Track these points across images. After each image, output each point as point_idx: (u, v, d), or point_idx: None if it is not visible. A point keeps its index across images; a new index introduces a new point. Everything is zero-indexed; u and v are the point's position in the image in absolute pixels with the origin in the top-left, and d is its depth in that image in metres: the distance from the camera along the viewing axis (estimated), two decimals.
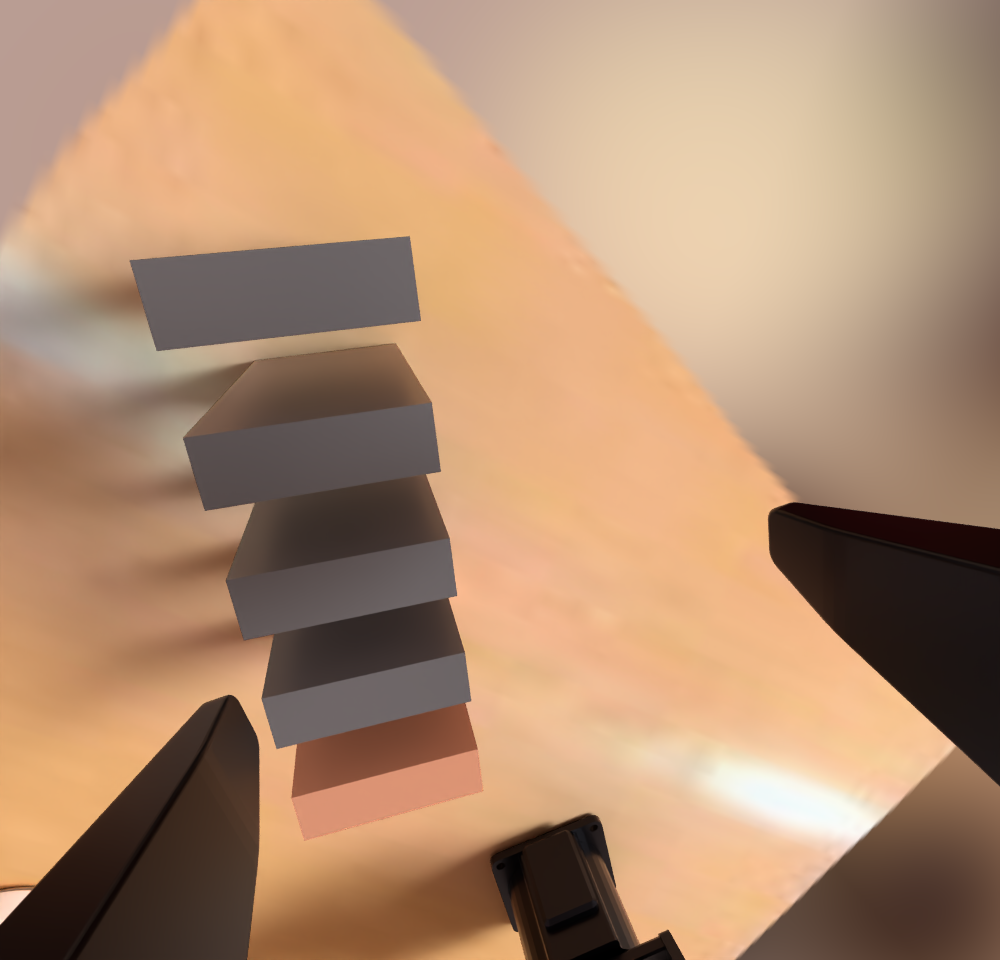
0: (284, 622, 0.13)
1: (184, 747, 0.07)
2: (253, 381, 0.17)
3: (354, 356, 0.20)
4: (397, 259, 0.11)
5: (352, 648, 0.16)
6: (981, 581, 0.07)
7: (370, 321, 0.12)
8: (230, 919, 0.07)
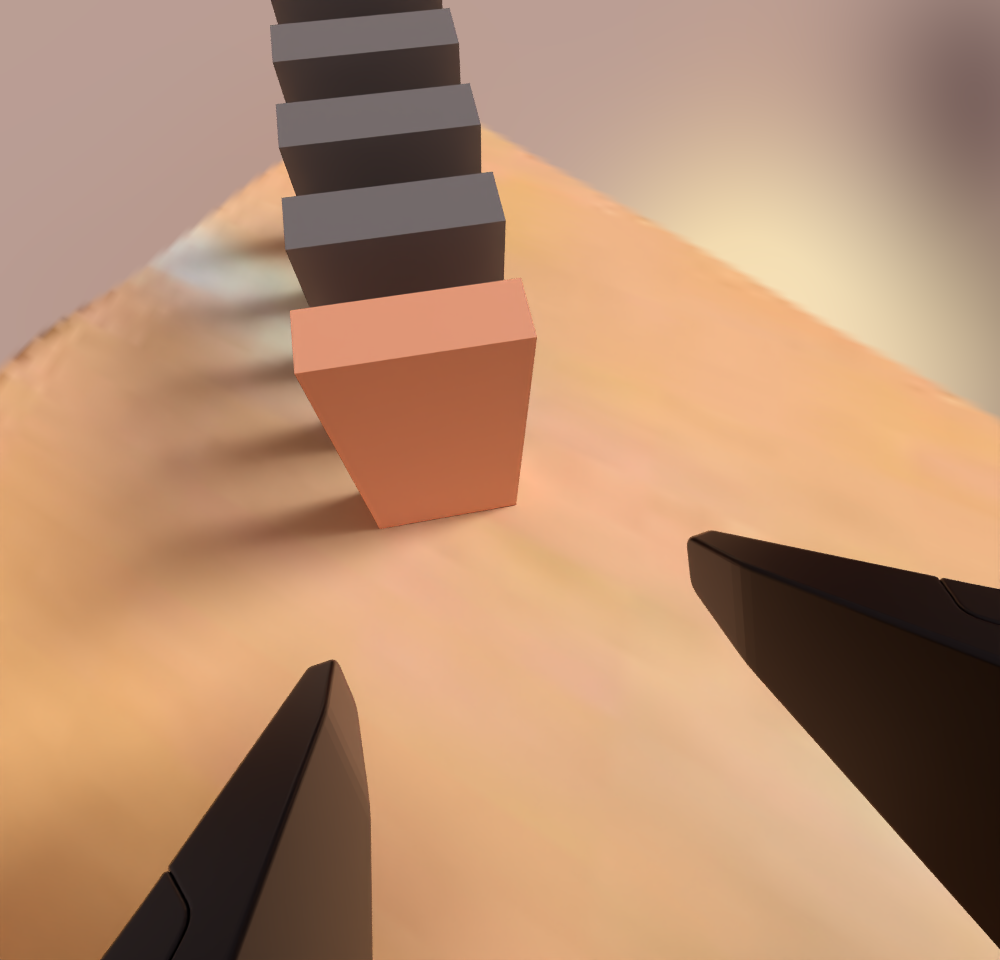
0: (317, 136, 0.14)
1: (305, 705, 0.07)
2: None
3: None
4: None
5: None
6: (866, 625, 0.06)
7: None
8: (358, 869, 0.07)
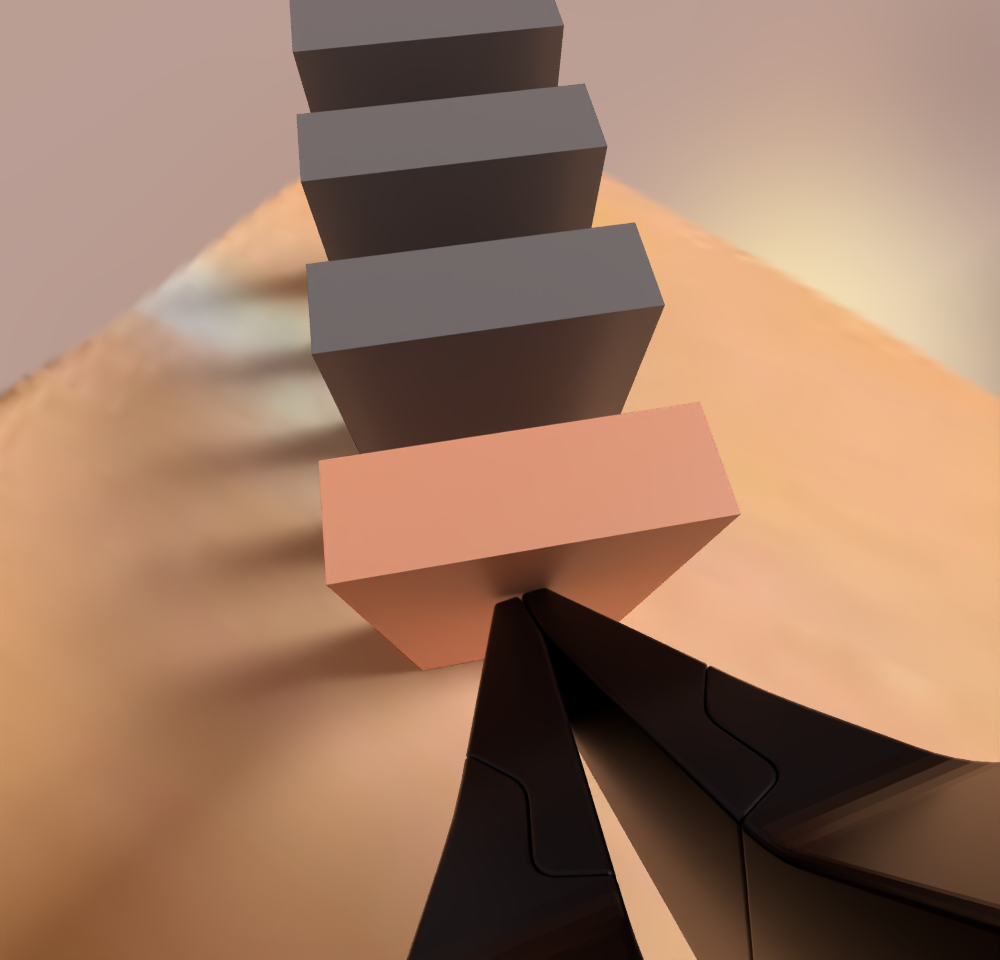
0: (359, 163, 0.09)
1: (517, 630, 0.08)
2: None
3: None
4: None
5: None
6: (622, 718, 0.06)
7: None
8: None
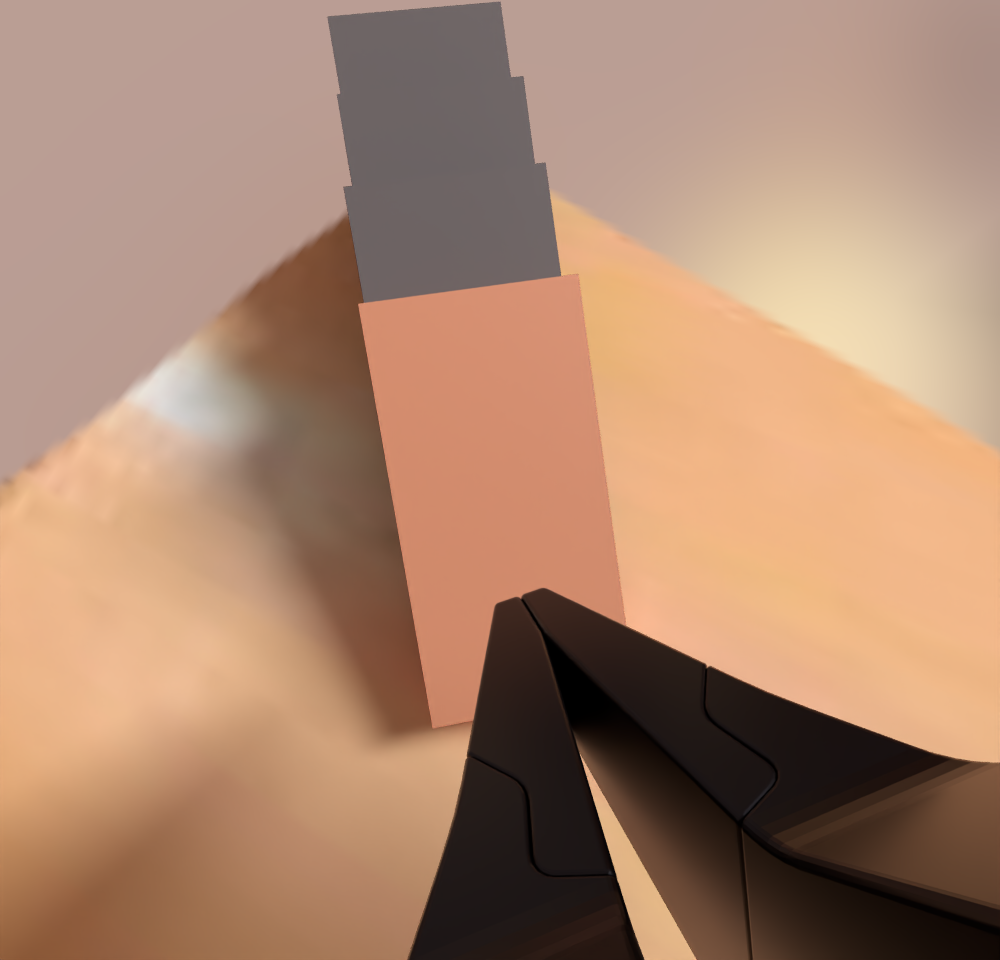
0: None
1: (517, 630, 0.08)
2: None
3: None
4: None
5: None
6: (622, 719, 0.06)
7: None
8: None
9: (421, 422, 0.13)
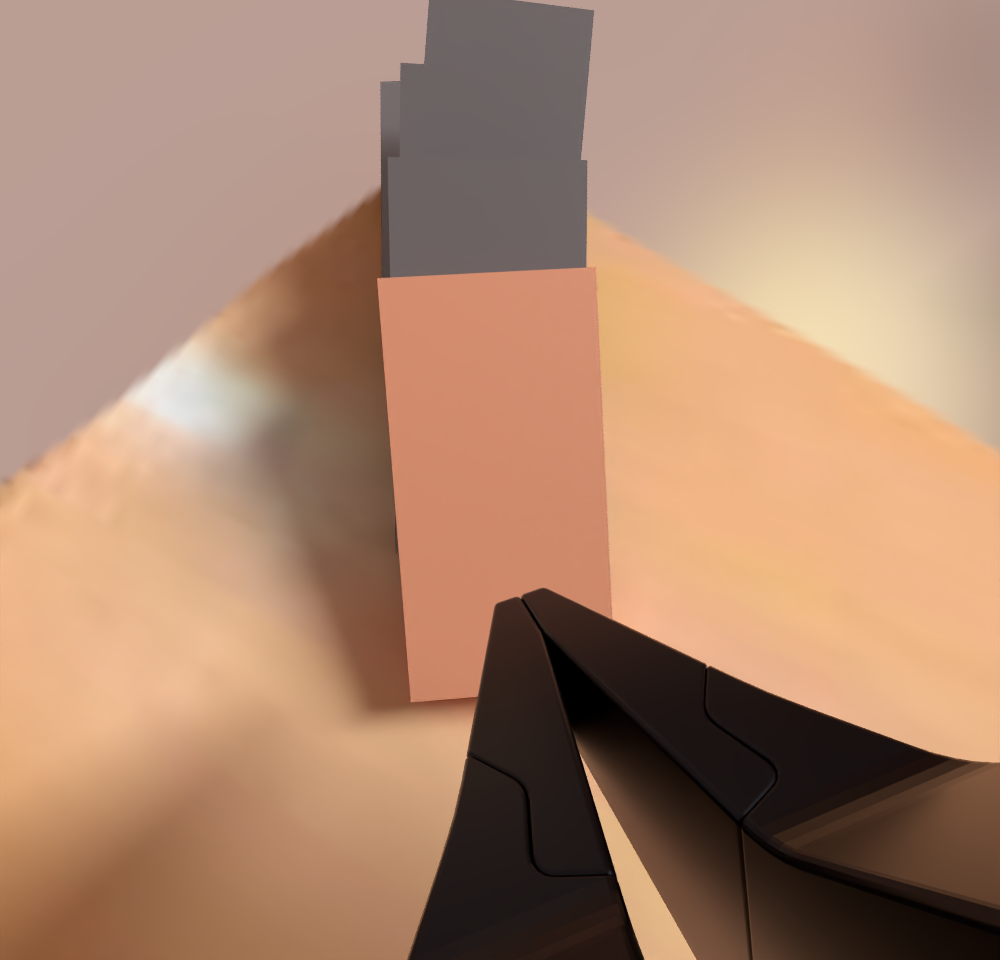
0: None
1: (517, 630, 0.08)
2: None
3: None
4: None
5: None
6: (622, 719, 0.06)
7: None
8: None
9: (427, 399, 0.13)
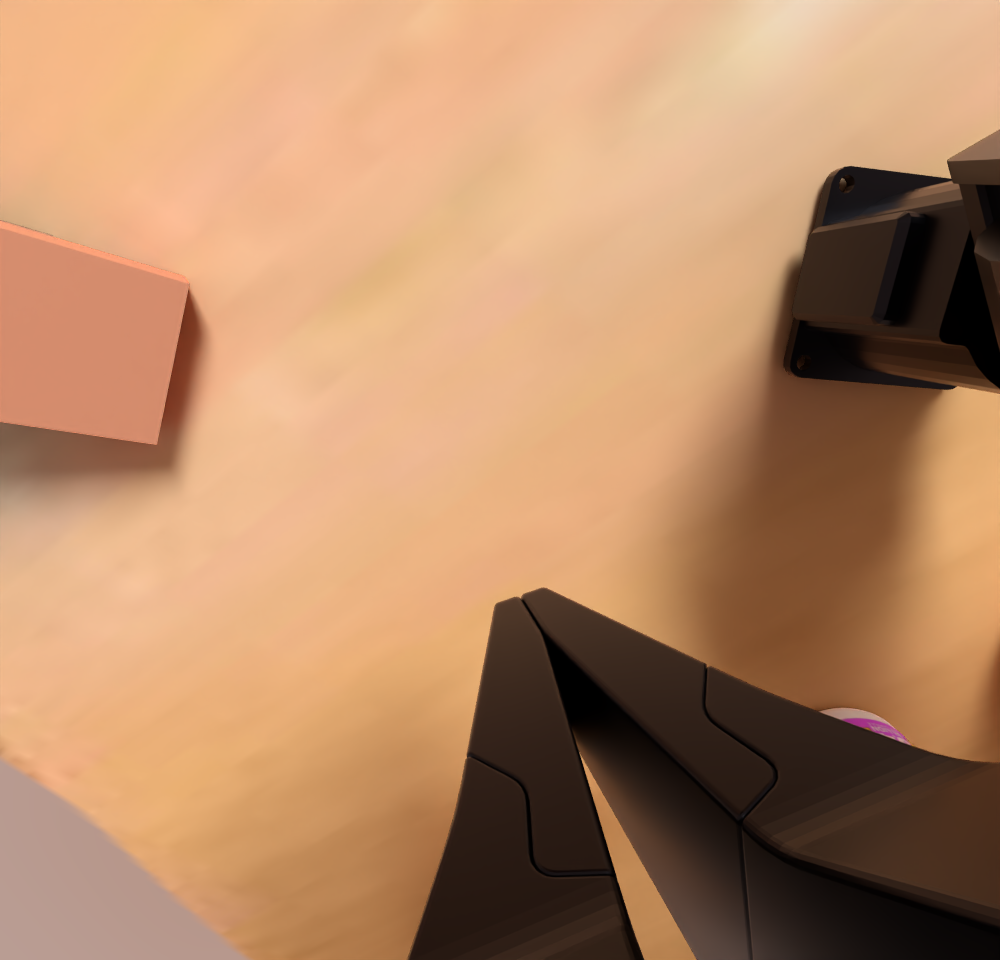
0: None
1: (517, 630, 0.08)
2: None
3: None
4: None
5: None
6: (622, 719, 0.06)
7: None
8: None
9: None
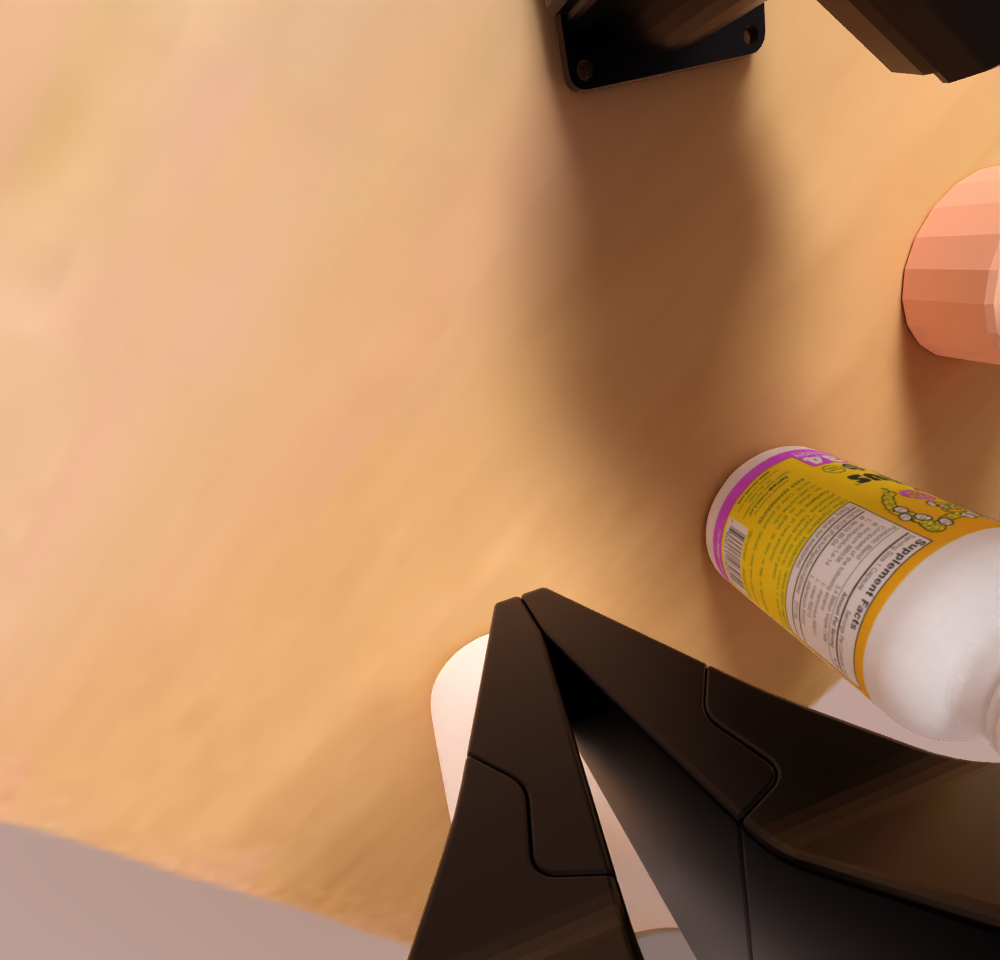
0: None
1: (517, 630, 0.08)
2: None
3: None
4: None
5: None
6: (621, 718, 0.06)
7: None
8: None
9: None
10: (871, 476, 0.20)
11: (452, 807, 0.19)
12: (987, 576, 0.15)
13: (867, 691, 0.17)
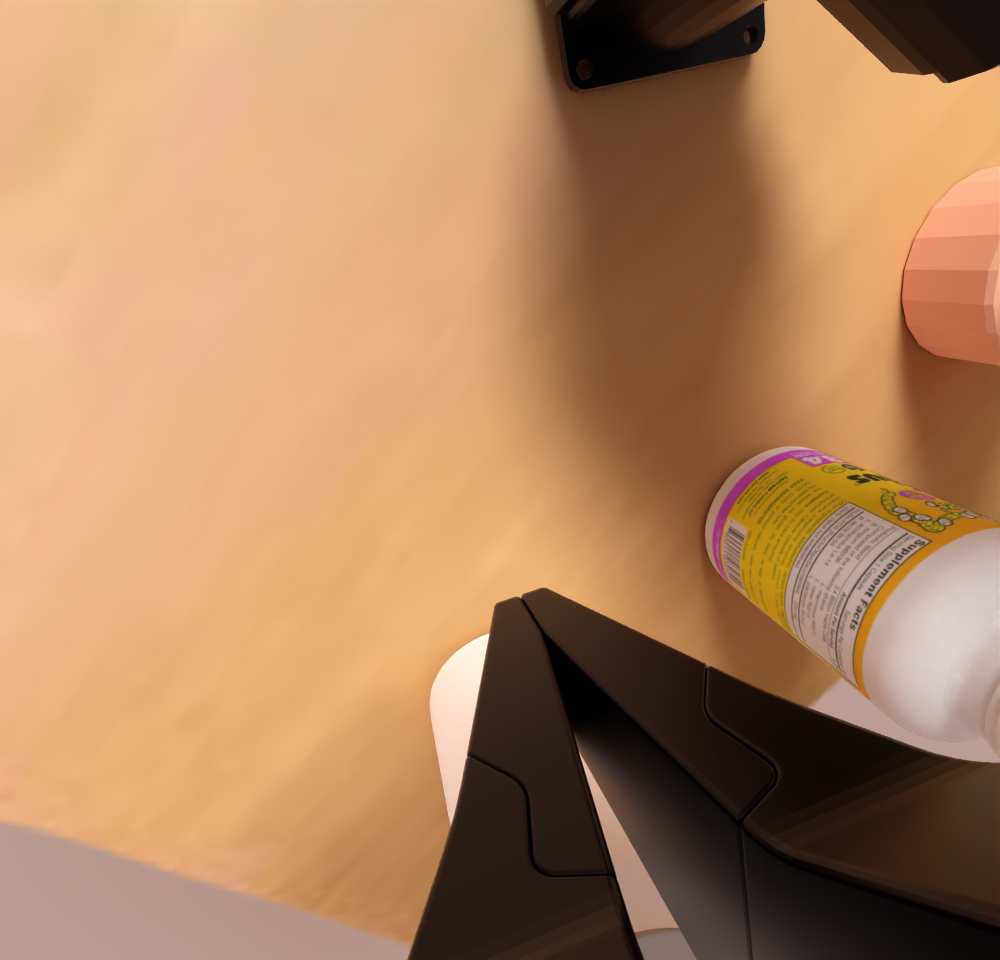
0: None
1: (517, 630, 0.08)
2: None
3: None
4: None
5: None
6: (622, 719, 0.06)
7: None
8: None
9: None
10: (870, 476, 0.20)
11: (451, 807, 0.19)
12: (987, 577, 0.15)
13: (866, 691, 0.17)
